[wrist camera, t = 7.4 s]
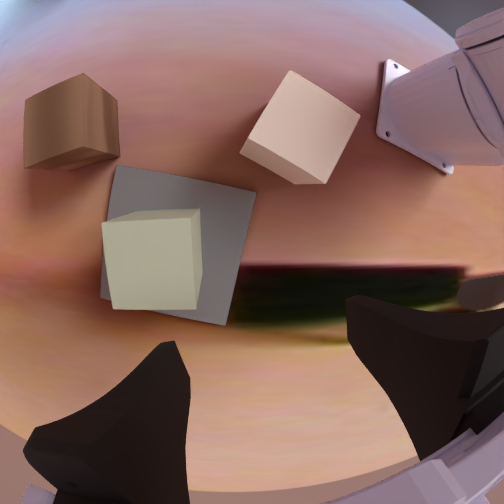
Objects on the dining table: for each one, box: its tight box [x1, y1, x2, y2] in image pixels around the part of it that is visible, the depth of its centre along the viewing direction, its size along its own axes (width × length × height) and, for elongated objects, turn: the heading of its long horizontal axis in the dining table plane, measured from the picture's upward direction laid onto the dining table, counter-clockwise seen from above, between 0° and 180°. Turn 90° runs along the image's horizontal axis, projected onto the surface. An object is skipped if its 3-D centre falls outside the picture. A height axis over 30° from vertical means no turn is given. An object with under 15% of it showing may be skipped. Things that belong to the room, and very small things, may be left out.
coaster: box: [100, 165, 257, 325], centre depth 19 cm, size 10×10×1 cm
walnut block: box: [23, 73, 120, 171], centre depth 13 cm, size 4×4×6 cm
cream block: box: [239, 70, 361, 184], centre depth 15 cm, size 4×4×6 cm
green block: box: [101, 208, 203, 310], centre depth 15 cm, size 4×4×6 cm
